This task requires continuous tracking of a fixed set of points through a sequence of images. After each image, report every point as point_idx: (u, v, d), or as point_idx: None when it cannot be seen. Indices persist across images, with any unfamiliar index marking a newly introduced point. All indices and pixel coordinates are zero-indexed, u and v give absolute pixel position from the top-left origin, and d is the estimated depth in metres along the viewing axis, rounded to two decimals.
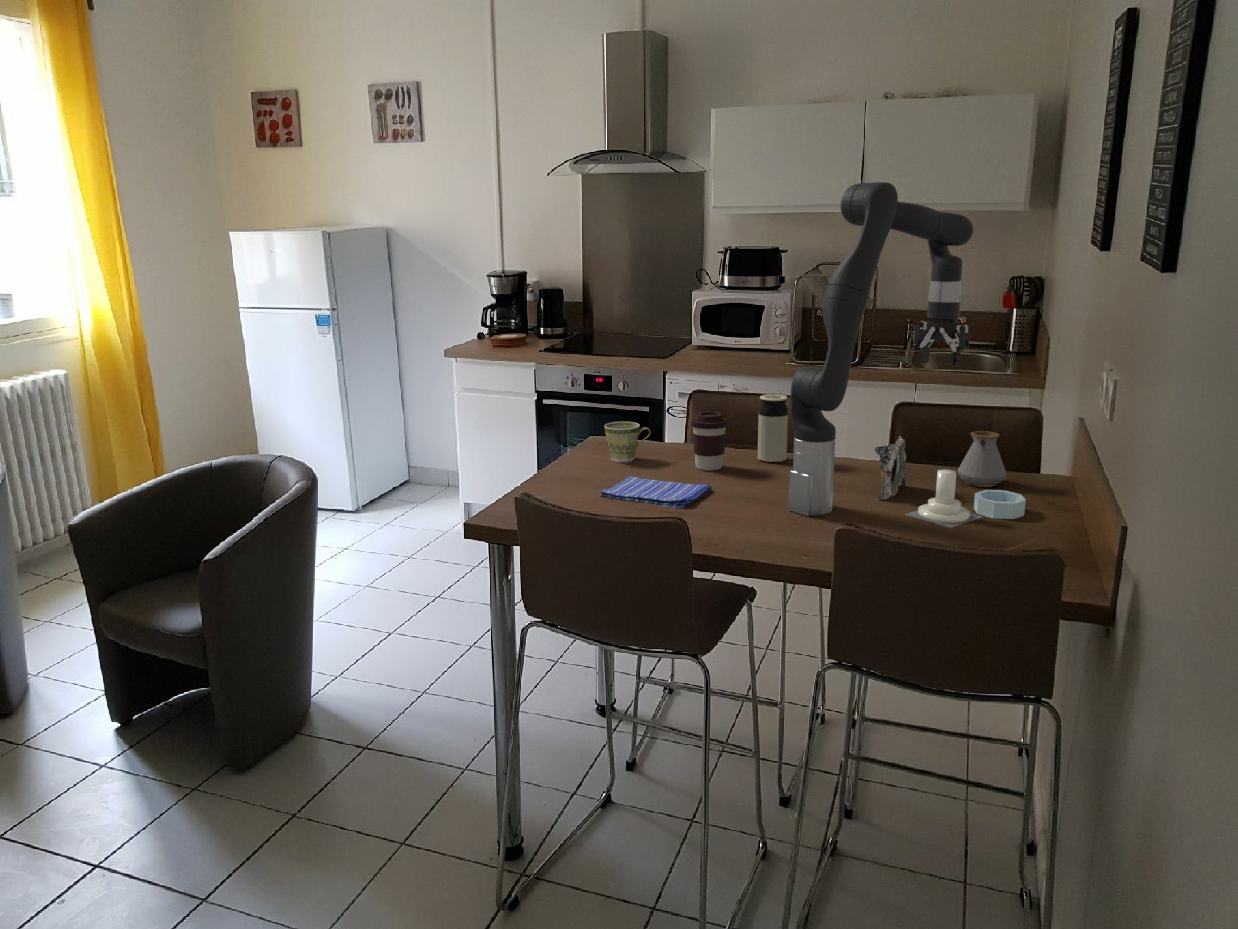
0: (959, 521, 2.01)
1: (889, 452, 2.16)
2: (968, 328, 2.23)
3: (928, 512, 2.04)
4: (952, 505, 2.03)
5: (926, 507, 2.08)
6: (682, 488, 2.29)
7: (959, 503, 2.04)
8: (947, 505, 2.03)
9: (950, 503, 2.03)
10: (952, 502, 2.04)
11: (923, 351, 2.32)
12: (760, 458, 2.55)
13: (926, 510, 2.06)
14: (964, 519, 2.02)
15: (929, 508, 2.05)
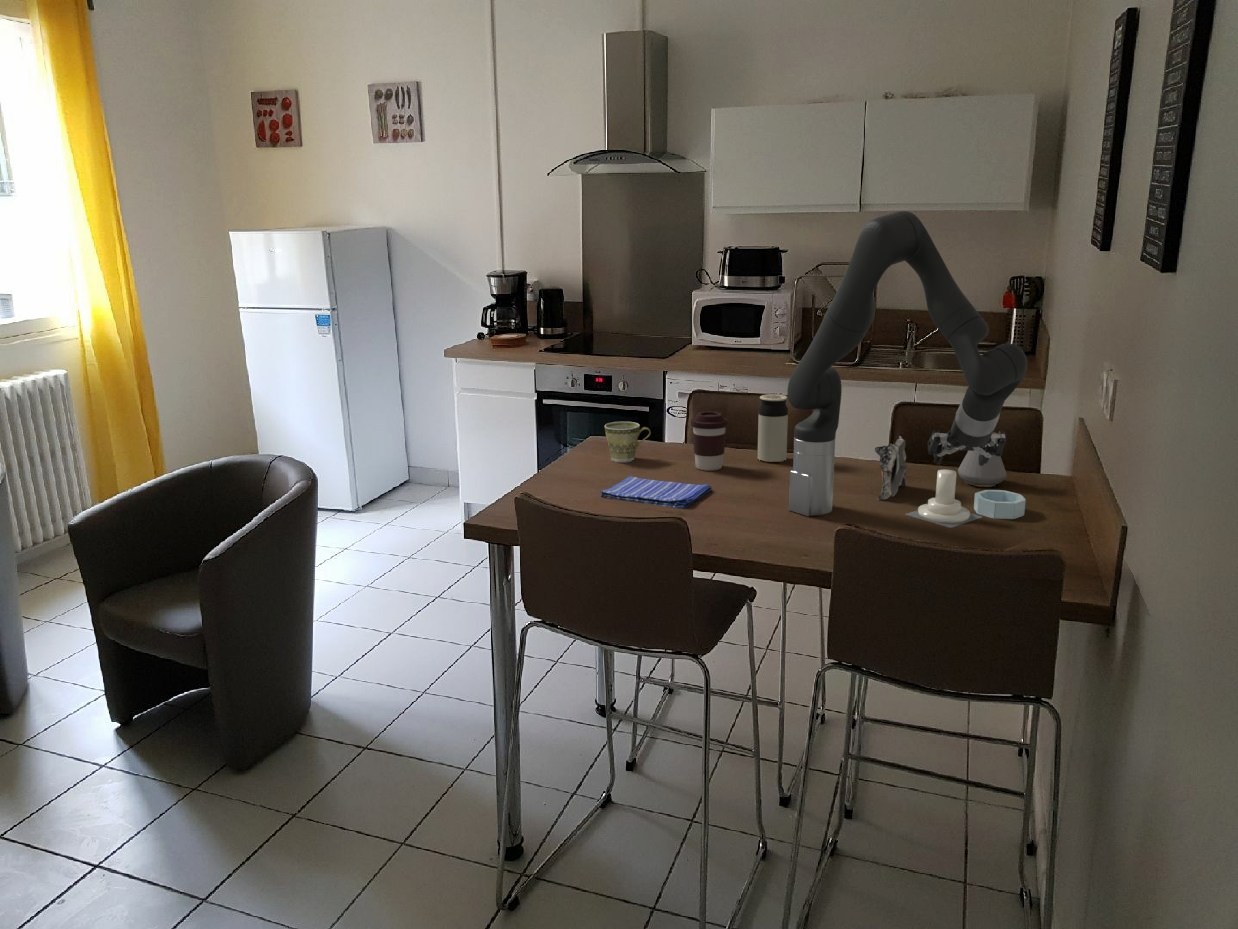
0: (959, 521, 2.01)
1: (889, 452, 2.16)
2: (1004, 434, 1.82)
3: (928, 512, 2.04)
4: (952, 505, 2.03)
5: (927, 507, 2.08)
6: (682, 488, 2.29)
7: (959, 503, 2.04)
8: (947, 505, 2.03)
9: (950, 503, 2.03)
10: (952, 502, 2.04)
11: (941, 458, 1.89)
12: (760, 458, 2.55)
13: (926, 510, 2.06)
14: (964, 519, 2.02)
15: (929, 508, 2.05)
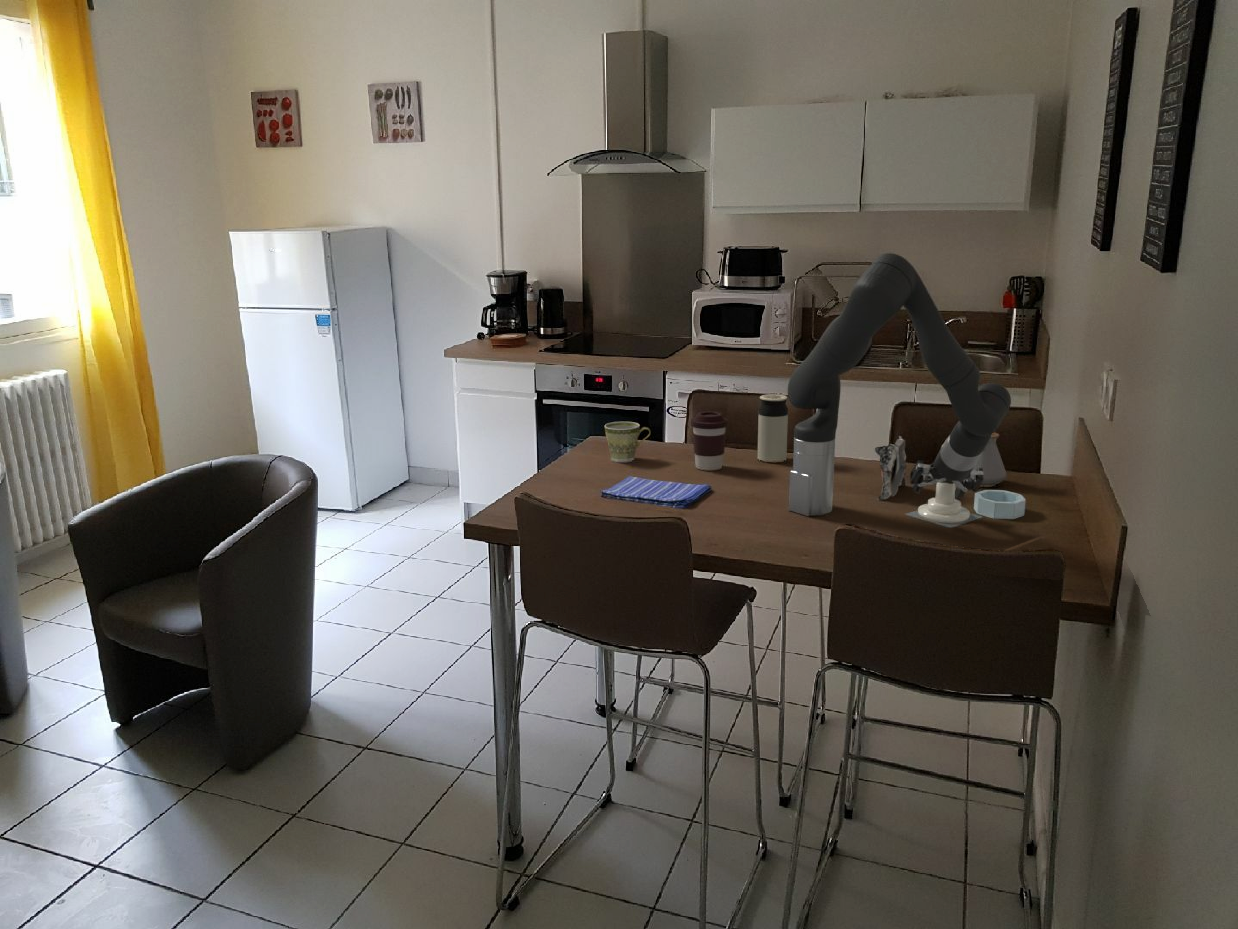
0: (959, 521, 2.01)
1: (889, 452, 2.16)
2: None
3: (928, 512, 2.04)
4: (952, 505, 2.03)
5: (927, 507, 2.08)
6: (682, 488, 2.29)
7: (959, 503, 2.04)
8: (947, 505, 2.03)
9: (950, 503, 2.03)
10: (952, 502, 2.04)
11: (921, 488, 1.99)
12: (760, 458, 2.55)
13: (926, 510, 2.06)
14: (964, 519, 2.02)
15: (929, 508, 2.05)
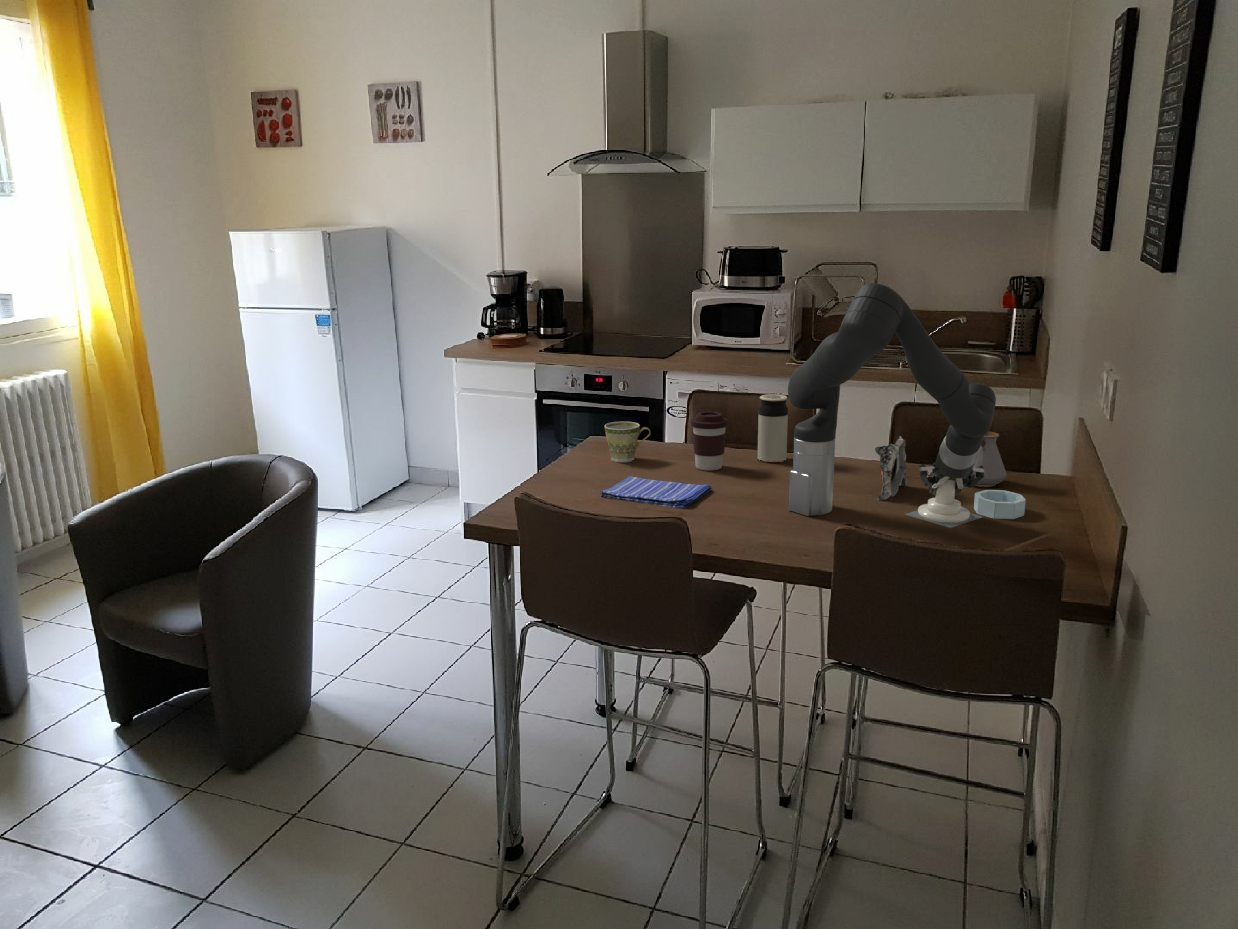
0: (958, 521, 2.01)
1: (889, 452, 2.16)
2: None
3: (928, 512, 2.04)
4: (952, 505, 2.03)
5: (926, 507, 2.08)
6: (682, 488, 2.29)
7: (959, 503, 2.04)
8: (947, 505, 2.03)
9: (950, 503, 2.03)
10: (952, 502, 2.04)
11: (936, 489, 2.04)
12: (760, 458, 2.55)
13: (926, 510, 2.06)
14: (964, 519, 2.02)
15: (929, 508, 2.05)
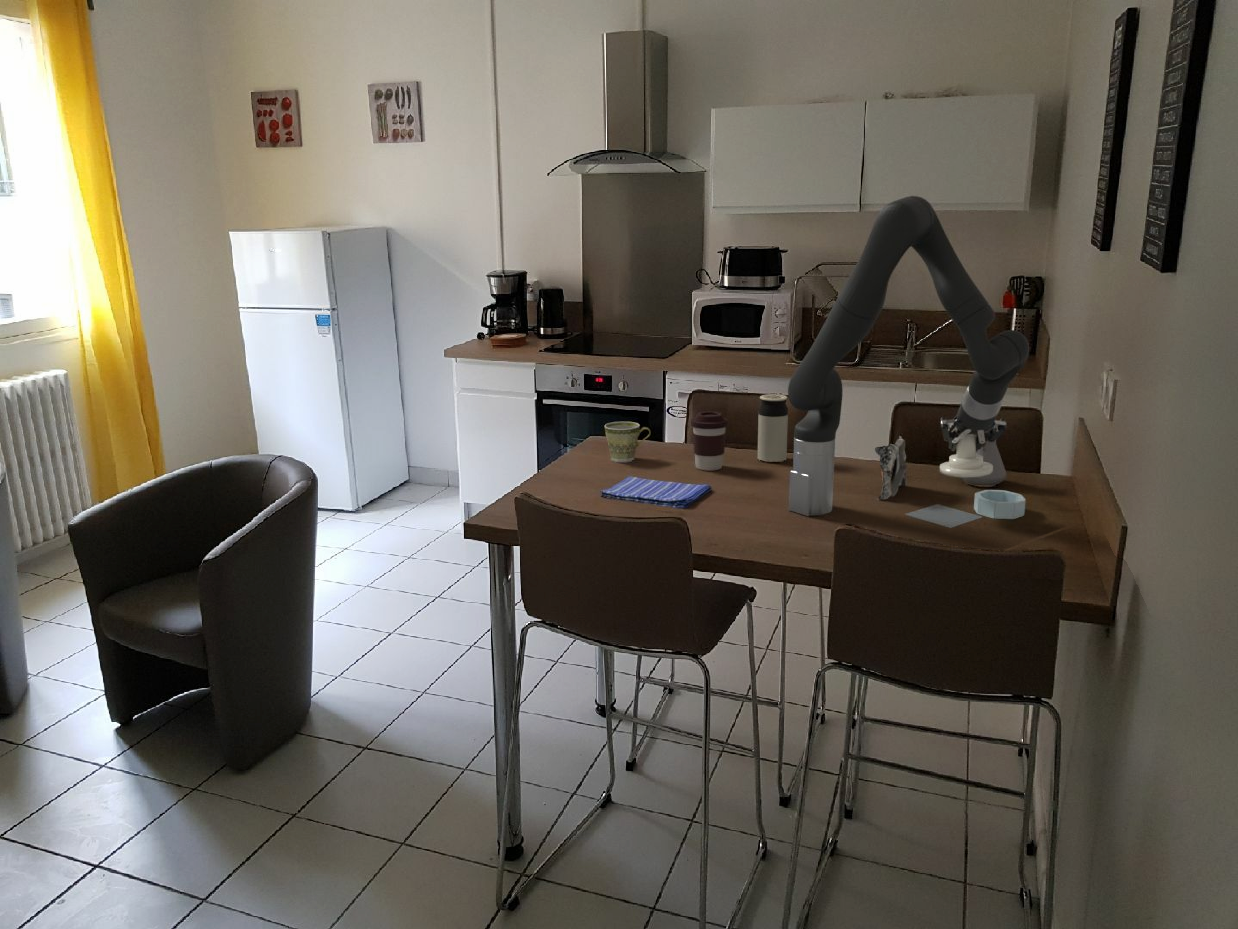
0: (983, 474, 1.98)
1: (889, 452, 2.16)
2: None
3: (950, 469, 2.01)
4: (974, 459, 2.00)
5: (948, 465, 2.05)
6: (682, 488, 2.29)
7: (981, 457, 2.01)
8: (969, 459, 2.00)
9: (972, 457, 2.00)
10: (974, 456, 2.01)
11: (955, 444, 2.01)
12: (760, 458, 2.55)
13: (948, 467, 2.03)
14: (988, 472, 1.98)
15: (951, 464, 2.02)
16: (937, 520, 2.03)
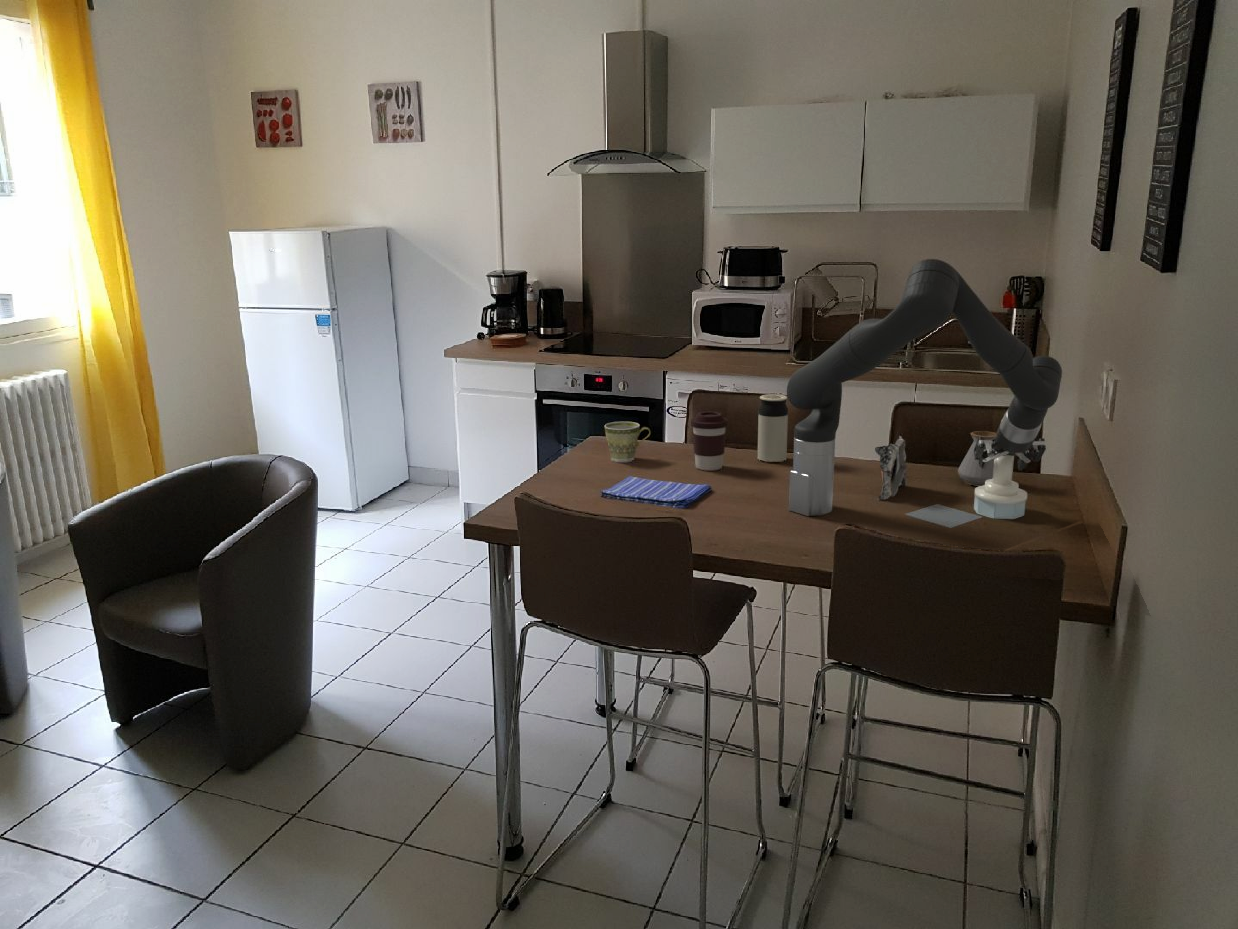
0: (1017, 501, 2.02)
1: (889, 452, 2.16)
2: None
3: (985, 494, 2.05)
4: (1010, 486, 2.04)
5: (983, 489, 2.09)
6: (682, 488, 2.29)
7: (1016, 484, 2.05)
8: (1005, 486, 2.04)
9: (1008, 484, 2.04)
10: (1010, 483, 2.05)
11: (986, 463, 2.04)
12: (760, 458, 2.55)
13: (983, 491, 2.07)
14: (1022, 500, 2.02)
15: (986, 489, 2.06)
16: (937, 520, 2.03)
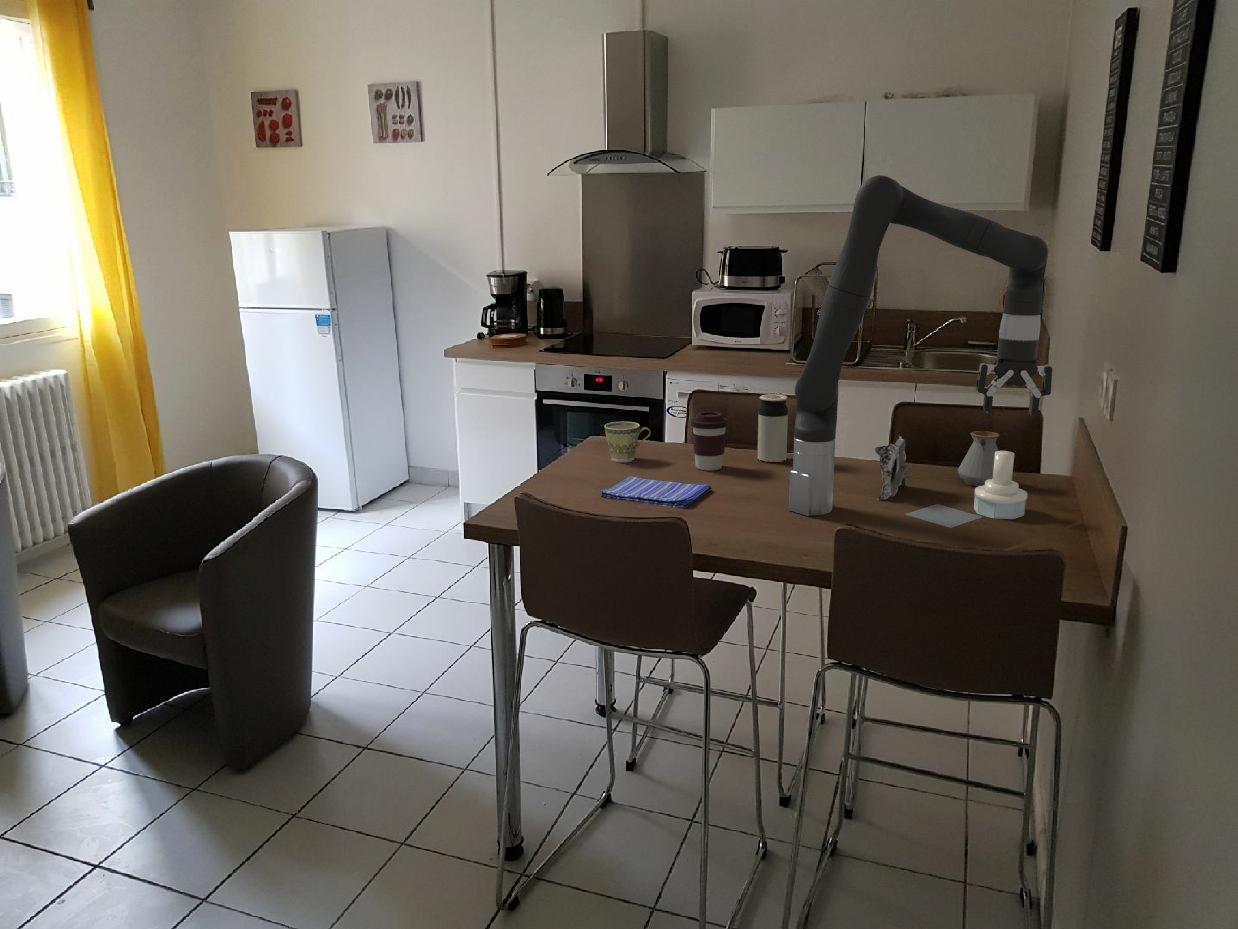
0: (1017, 501, 2.02)
1: (889, 452, 2.16)
2: None
3: (985, 494, 2.05)
4: (1010, 486, 2.04)
5: (983, 489, 2.09)
6: (682, 488, 2.29)
7: (1016, 484, 2.05)
8: (1005, 486, 2.04)
9: (1008, 484, 2.04)
10: (1010, 483, 2.05)
11: (991, 400, 1.90)
12: (760, 458, 2.55)
13: (983, 491, 2.07)
14: (1022, 500, 2.02)
15: (986, 489, 2.06)
16: (937, 520, 2.03)
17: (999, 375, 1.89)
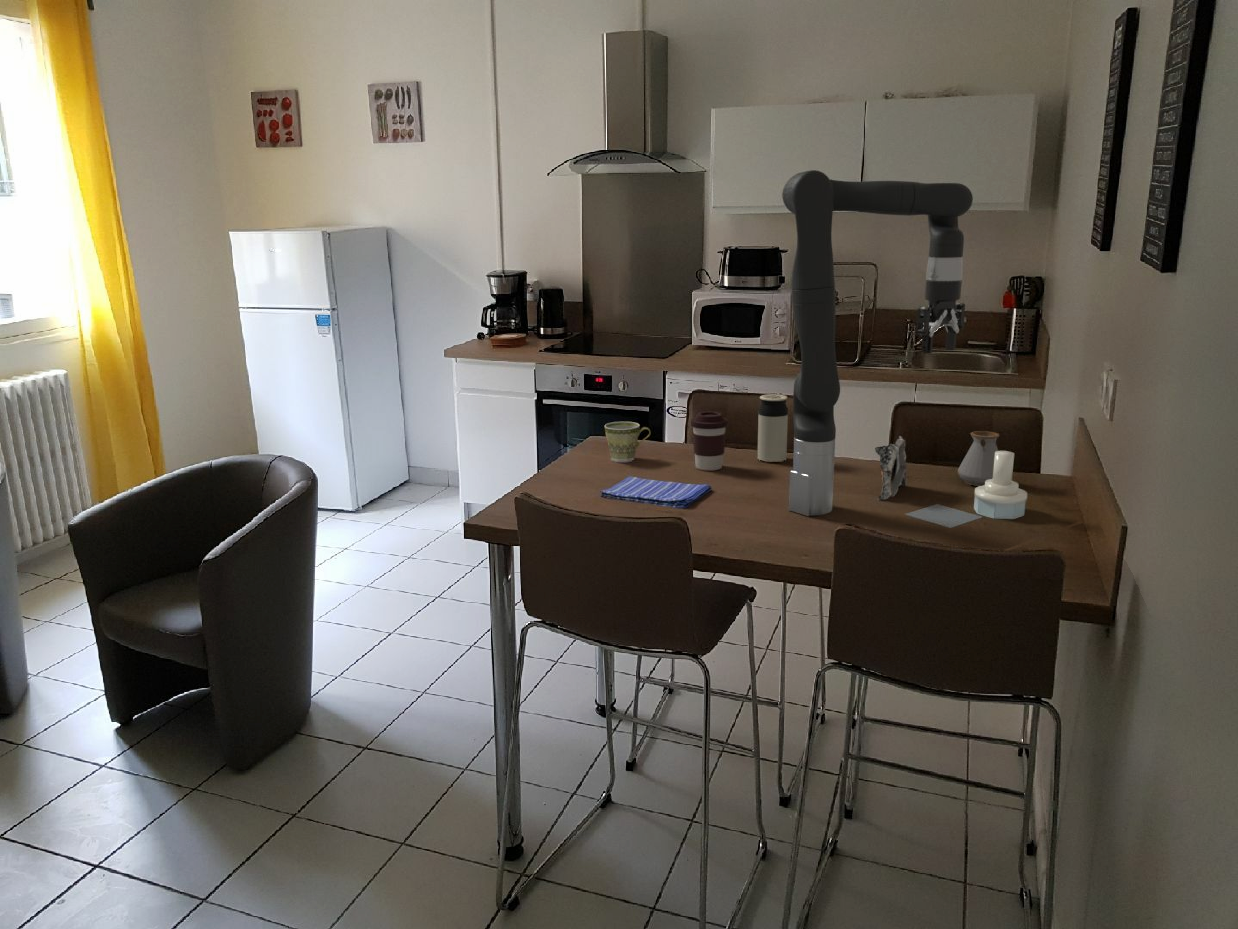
0: (1017, 501, 2.02)
1: (889, 452, 2.16)
2: None
3: (985, 494, 2.05)
4: (1010, 486, 2.04)
5: (983, 489, 2.09)
6: (682, 488, 2.29)
7: (1016, 484, 2.05)
8: (1005, 486, 2.04)
9: (1008, 484, 2.04)
10: (1010, 483, 2.05)
11: (931, 340, 2.02)
12: (760, 458, 2.55)
13: (983, 491, 2.07)
14: (1022, 500, 2.02)
15: (986, 489, 2.06)
16: (937, 520, 2.03)
17: (936, 316, 2.01)
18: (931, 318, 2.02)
